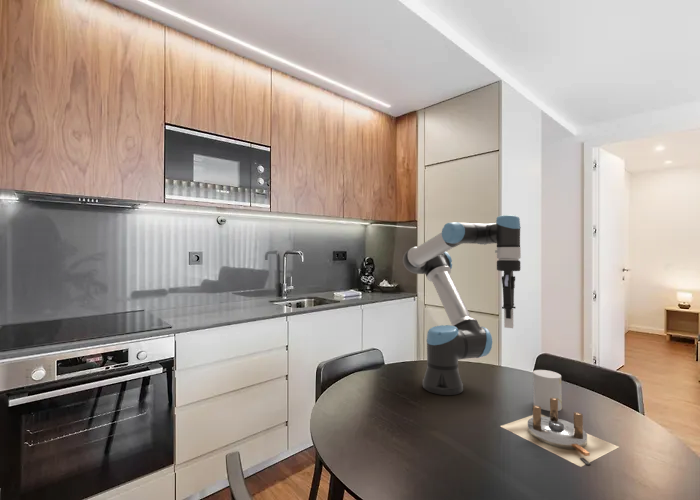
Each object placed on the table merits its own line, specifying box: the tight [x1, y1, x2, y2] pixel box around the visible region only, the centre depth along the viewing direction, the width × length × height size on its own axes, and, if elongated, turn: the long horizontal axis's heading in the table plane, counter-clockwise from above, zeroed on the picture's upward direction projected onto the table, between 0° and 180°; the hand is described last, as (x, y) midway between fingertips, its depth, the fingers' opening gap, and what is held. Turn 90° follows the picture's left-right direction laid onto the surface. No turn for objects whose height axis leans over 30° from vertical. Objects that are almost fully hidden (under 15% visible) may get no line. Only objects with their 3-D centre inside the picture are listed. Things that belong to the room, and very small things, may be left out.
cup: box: [532, 369, 563, 412], centre depth 114 cm, size 8×8×12 cm
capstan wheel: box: [528, 398, 590, 456], centre depth 92 cm, size 14×18×8 cm
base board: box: [499, 413, 620, 468], centre depth 94 cm, size 23×18×2 cm
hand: (508, 327), depth 119 cm, fingers closed
